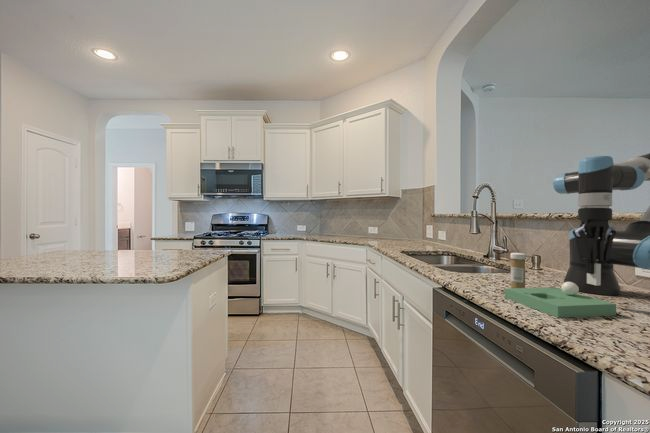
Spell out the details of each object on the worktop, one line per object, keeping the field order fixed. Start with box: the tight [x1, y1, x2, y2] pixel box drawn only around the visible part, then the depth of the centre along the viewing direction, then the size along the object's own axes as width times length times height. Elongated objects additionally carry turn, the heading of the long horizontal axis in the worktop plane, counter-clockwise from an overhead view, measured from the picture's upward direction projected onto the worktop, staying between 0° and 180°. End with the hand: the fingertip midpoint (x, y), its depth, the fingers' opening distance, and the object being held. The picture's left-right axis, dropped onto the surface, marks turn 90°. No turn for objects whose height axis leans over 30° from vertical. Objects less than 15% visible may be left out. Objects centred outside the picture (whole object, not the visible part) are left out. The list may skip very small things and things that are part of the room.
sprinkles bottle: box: [509, 252, 527, 288], centre depth 100 cm, size 5×5×14 cm
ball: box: [560, 282, 580, 295], centre depth 83 cm, size 4×4×4 cm
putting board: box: [504, 286, 617, 319], centre depth 83 cm, size 18×18×3 cm
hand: (593, 284), depth 84 cm, fingers closed
